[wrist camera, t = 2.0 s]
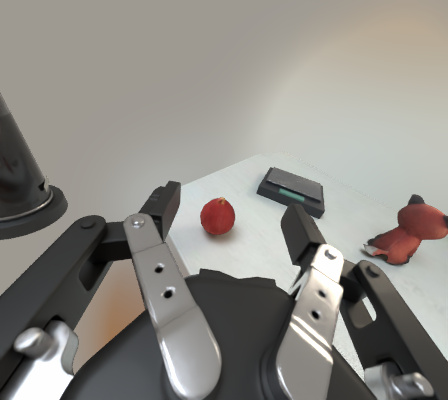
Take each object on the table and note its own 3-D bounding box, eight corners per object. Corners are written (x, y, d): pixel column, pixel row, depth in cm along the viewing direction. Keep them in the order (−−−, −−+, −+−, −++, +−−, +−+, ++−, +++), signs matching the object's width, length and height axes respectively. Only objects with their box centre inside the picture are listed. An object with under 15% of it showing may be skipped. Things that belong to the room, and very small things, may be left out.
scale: (256, 193, 44) (260, 182, 42) (267, 173, 55) (271, 164, 53) (319, 218, 40) (326, 208, 38) (318, 192, 51) (324, 183, 49)
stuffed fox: (345, 241, 35) (389, 195, 28) (376, 233, 40) (421, 192, 33) (381, 274, 30) (447, 228, 23) (413, 261, 34) (476, 219, 27)
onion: (197, 220, 32) (202, 184, 27) (227, 220, 33) (236, 187, 29) (198, 245, 28) (204, 208, 23) (232, 244, 29) (244, 210, 24)
